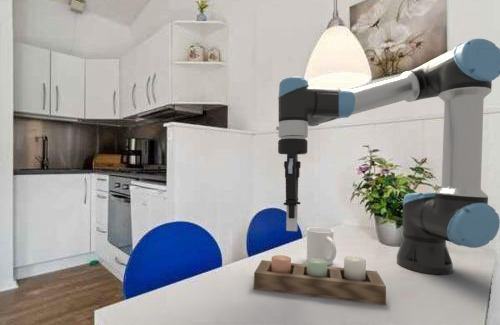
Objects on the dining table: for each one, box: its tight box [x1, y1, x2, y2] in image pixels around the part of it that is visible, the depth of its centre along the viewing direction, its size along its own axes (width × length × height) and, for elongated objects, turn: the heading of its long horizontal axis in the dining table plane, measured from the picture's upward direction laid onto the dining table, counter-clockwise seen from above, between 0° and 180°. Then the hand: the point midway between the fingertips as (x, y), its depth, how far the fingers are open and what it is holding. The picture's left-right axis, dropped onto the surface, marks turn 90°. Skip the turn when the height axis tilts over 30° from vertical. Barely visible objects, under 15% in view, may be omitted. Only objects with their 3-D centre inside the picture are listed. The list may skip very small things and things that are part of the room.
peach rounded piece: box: [271, 254, 292, 274], centre depth 74 cm, size 5×5×4 cm
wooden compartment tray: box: [253, 259, 387, 306], centre depth 72 cm, size 30×10×4 cm, turn 77°
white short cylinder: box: [343, 255, 367, 281], centre depth 70 cm, size 5×5×4 cm
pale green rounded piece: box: [306, 258, 328, 278], centre depth 72 cm, size 5×5×4 cm
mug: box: [306, 226, 337, 266], centre depth 91 cm, size 12×8×10 cm
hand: (291, 230), depth 74 cm, fingers closed
